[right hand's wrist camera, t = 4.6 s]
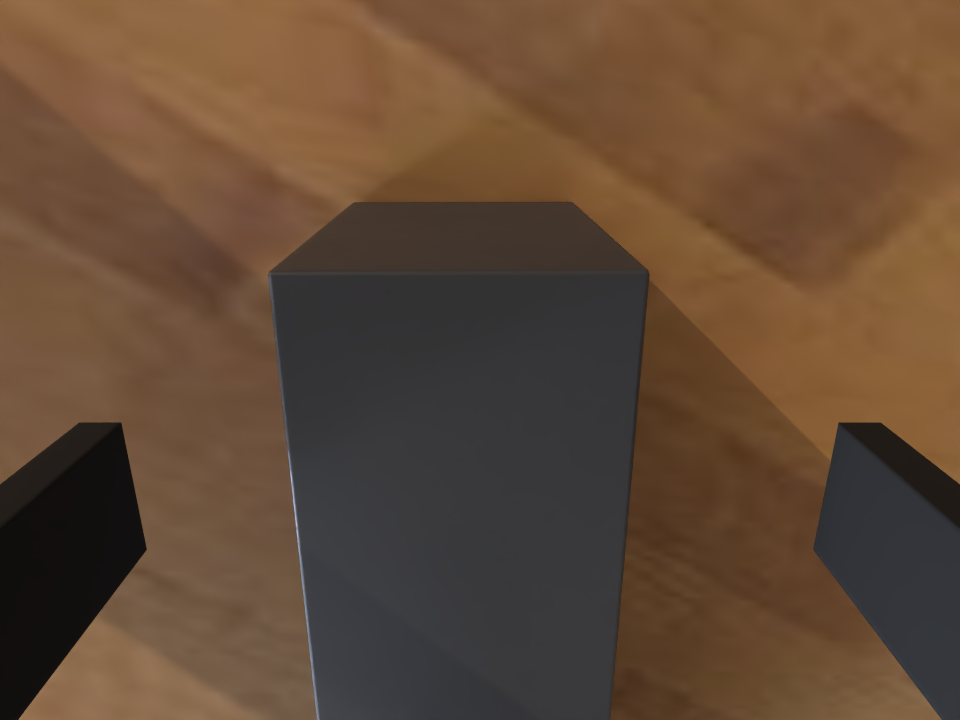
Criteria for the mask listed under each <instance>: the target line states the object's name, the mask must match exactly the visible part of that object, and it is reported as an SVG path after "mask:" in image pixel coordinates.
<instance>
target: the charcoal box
mask: <svg viewBox="0 0 960 720" xmlns="http://www.w3.org/2000/svg"><path fill="white" fill-rule="evenodd" d="M268 280H269V289H270V298H271V307H272V316H273V325H274V334H275V343H276V352H277V361H278V370H279V379H280V388H281V398H282V407H283V416H284V425H285V434H286V443H287V452H288V461H289V470H290V479H291V488H292V497H293V506H294V516H295V525H296V534H297V543H298V552H299V561H300V570H301V579H302V588H303V597H304V606H305V615H306V624H307V634H308V643H309V652H310V661H311V670H312V679H313V688H314V697H315V706H316V715H317V720H610V717H611V705H612V694H613V683H614V671H615V660H616V649H617V637H618V626H619V615H620V603H621V592H622V580H623V569H624V558H625V546H626V535H627V524H628V512H629V501H630V490H631V478H632V467H633V456H634V444H635V433H636V422H637V410H638V399H639V388H640V376H641V365H642V354H643V342H644V331H645V320H646V308H647V297H648V286H649V271H648V270H647V269H646V268H645V267H644V266H643V265H642V264H640V263H639V262H638V261H637V260H636V259H635V258H634V257H633V256H632V255H630V254H629V253H628V252H627V251H626V250H625V249H624V248H623V247H622V246H620V245H619V244H618V243H617V242H616V241H615V240H614V239H613V238H612V237H611V236H609V235H608V234H607V233H606V232H605V231H604V230H603V229H602V228H601V227H599V226H598V225H597V224H596V223H595V222H594V221H593V220H592V219H591V218H589V217H588V216H587V215H586V214H585V213H584V212H583V211H582V210H581V209H579V208H578V207H577V206H576V205H575V204H574V203H572V202H372V203H352V204H351V205H350V206H349V207H348V208H346V209H345V210H344V211H343V212H341V213H340V214H339V215H338V216H337V217H335V218H334V219H333V220H332V221H331V222H329V223H328V224H327V225H326V226H324V227H323V228H322V229H321V230H320V231H318V232H317V233H316V234H315V235H313V236H312V237H311V238H310V239H309V240H307V241H306V242H305V243H304V244H303V245H301V246H300V247H299V248H298V249H296V250H295V251H294V252H293V253H292V254H290V255H289V256H288V257H287V258H286V259H284V260H283V261H282V262H281V263H279V264H278V265H277V266H276V267H275V268H273V269H272V270H271V271H270V272H269V274H268Z"/></svg>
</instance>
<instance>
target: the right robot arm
mask: <svg viewBox="0 0 960 720" xmlns="http://www.w3.org/2000/svg"><path fill="white" fill-rule="evenodd" d="M146 550H147V548H146V543H145V538H144V533H143V529H142V524H141V519H140V514H139V509H138V504H137V499H136V494H135V489H134V484H133V479H132V474H131V469H130V464H129V459H128V454H127V449H126V444H125V439H124V434H123V429H122V424H121V423H78V424H77V425H76V426H74V427H73V428H72V429H71V430H69V431H68V432H67V433H65V434H64V435H63V436H62V437H60V438H59V439H58V440H57V441H55V442H54V443H53V444H51V445H50V446H49V447H48V448H46V449H45V450H44V451H42V452H41V453H40V454H39V455H37V456H36V457H35V458H34V459H32V460H31V461H30V462H28V463H27V464H26V465H25V466H23V467H22V468H21V469H19V470H18V471H17V472H16V473H14V474H13V475H12V476H11V477H9V478H8V479H7V480H5V481H4V482H3V483H2V484H0V720H18V719H19V718H20V716H21V715H22V714H23V712H24V711H25V710H26V708H27V707H28V706H29V705H30V703H31V702H32V701H33V699H34V698H35V697H36V695H37V694H38V693H39V691H40V690H41V689H42V687H43V686H44V685H45V683H46V682H47V681H48V679H49V678H50V677H51V675H52V674H53V673H54V671H55V670H56V669H57V668H58V666H59V665H60V664H61V662H62V661H63V660H64V658H65V657H66V656H67V654H68V653H69V652H70V650H71V649H72V648H73V646H74V645H75V644H76V642H77V641H78V640H79V638H80V637H81V636H82V634H83V633H84V632H85V630H86V629H87V628H88V627H89V625H90V624H91V623H92V621H93V620H94V619H95V617H96V616H97V615H98V613H99V612H100V611H101V609H102V608H103V607H104V605H105V604H106V603H107V601H108V600H109V599H110V597H111V596H112V595H113V593H114V592H115V591H116V590H117V588H118V587H119V586H120V584H121V583H122V582H123V580H124V579H125V578H126V576H127V575H128V574H129V572H130V571H131V570H132V568H133V567H134V566H135V564H136V563H137V562H138V560H139V559H140V558H141V556H142V555H143V554H144V553H145V551H146ZM813 550H814V551H815V553H816V554H817V555H818V556H819V558H820V559H821V560H822V562H823V563H824V564H825V566H826V567H827V568H828V570H829V571H830V572H831V574H832V575H833V576H834V578H835V579H836V580H837V582H838V583H839V584H840V586H841V587H842V588H843V590H844V591H845V592H846V593H847V595H848V596H849V597H850V599H851V600H852V601H853V603H854V604H855V605H856V607H857V608H858V609H859V611H860V612H861V613H862V615H863V616H864V617H865V619H866V620H867V621H868V623H869V624H870V625H871V627H872V628H873V629H874V630H875V632H876V633H877V634H878V636H879V637H880V638H881V640H882V641H883V642H884V644H885V645H886V646H887V648H888V649H889V650H890V652H891V653H892V654H893V656H894V657H895V658H896V660H897V661H898V662H899V664H900V665H901V666H902V668H903V669H904V670H905V671H906V673H907V674H908V675H909V677H910V678H911V679H912V681H913V682H914V683H915V685H916V686H917V687H918V689H919V690H920V691H921V693H922V694H923V695H924V697H925V698H926V699H927V701H928V702H929V703H930V705H931V706H932V707H933V708H934V710H935V711H936V712H937V714H938V715H939V716H940V718H941V719H942V720H960V484H958V483H957V482H956V481H955V480H953V479H952V478H951V477H949V476H948V475H947V474H946V473H944V472H943V471H942V470H941V469H939V468H938V467H937V466H935V465H934V464H933V463H932V462H930V461H929V460H928V459H926V458H925V457H924V456H923V455H921V454H920V453H919V452H918V451H916V450H915V449H914V448H912V447H911V446H910V445H909V444H907V443H906V442H905V441H903V440H902V439H901V438H900V437H898V436H897V435H896V434H895V433H893V432H892V431H891V430H889V429H888V428H887V427H886V426H884V425H883V424H882V423H839V424H838V429H837V434H836V439H835V444H834V449H833V454H832V459H831V464H830V469H829V474H828V479H827V484H826V489H825V494H824V499H823V504H822V509H821V514H820V519H819V524H818V529H817V533H816V538H815V543H814V548H813Z"/></svg>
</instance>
